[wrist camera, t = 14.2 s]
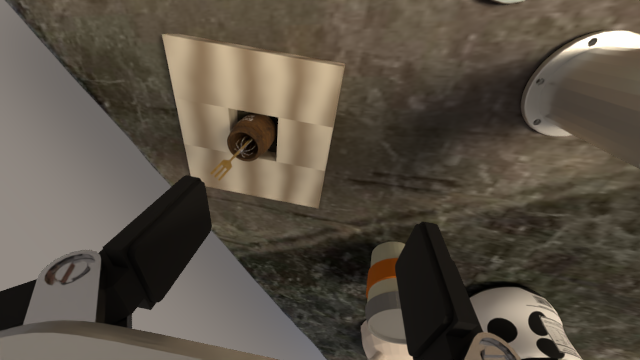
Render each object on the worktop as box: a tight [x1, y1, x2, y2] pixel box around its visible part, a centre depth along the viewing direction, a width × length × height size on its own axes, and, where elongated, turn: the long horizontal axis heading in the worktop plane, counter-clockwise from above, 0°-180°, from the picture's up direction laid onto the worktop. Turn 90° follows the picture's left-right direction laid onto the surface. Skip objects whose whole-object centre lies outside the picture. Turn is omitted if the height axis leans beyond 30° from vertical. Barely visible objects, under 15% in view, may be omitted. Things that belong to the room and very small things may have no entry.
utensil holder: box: [210, 113, 276, 181], centre depth 34 cm, size 6×6×12 cm
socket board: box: [162, 33, 345, 208], centre depth 38 cm, size 24×24×3 cm
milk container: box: [469, 285, 582, 360], centre depth 48 cm, size 17×17×18 cm
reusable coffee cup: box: [365, 242, 407, 345], centre depth 46 cm, size 13×13×15 cm
